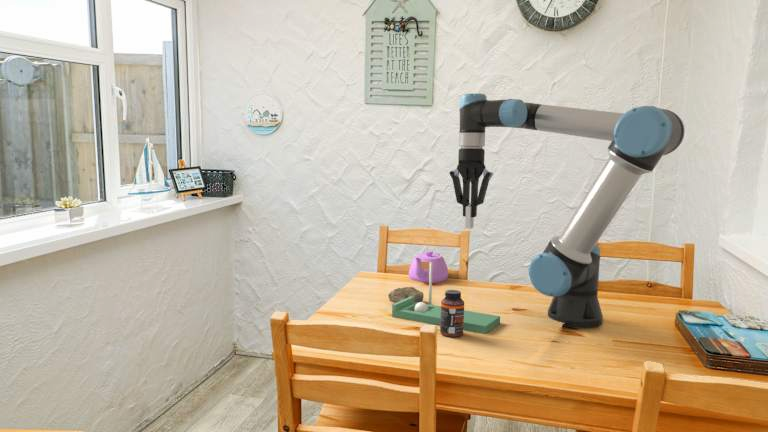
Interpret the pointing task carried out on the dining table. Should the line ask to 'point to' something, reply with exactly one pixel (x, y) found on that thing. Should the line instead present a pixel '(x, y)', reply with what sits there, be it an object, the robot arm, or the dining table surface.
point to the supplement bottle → (452, 314)
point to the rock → (405, 294)
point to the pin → (429, 267)
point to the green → (433, 316)
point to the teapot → (423, 275)
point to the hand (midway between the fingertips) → (469, 227)
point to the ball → (421, 307)
